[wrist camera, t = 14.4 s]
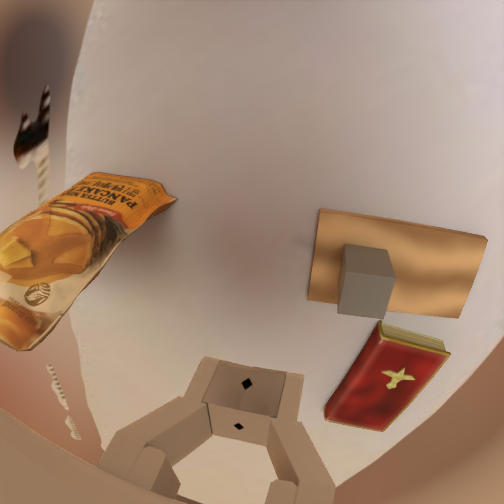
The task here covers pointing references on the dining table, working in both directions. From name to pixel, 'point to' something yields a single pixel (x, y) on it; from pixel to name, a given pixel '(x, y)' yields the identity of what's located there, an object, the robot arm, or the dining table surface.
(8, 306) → the pancake mix bag
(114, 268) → the dining table surface
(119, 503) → the robot arm
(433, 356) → the hardcover book
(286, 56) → the dining table surface
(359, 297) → the gray rectangular block
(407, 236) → the board
